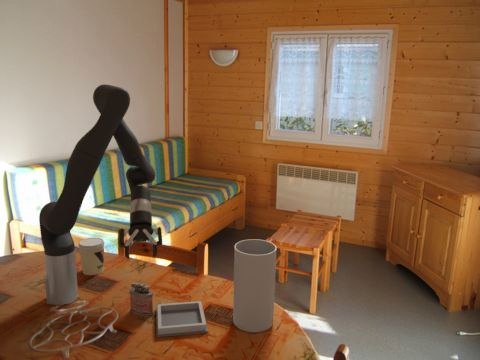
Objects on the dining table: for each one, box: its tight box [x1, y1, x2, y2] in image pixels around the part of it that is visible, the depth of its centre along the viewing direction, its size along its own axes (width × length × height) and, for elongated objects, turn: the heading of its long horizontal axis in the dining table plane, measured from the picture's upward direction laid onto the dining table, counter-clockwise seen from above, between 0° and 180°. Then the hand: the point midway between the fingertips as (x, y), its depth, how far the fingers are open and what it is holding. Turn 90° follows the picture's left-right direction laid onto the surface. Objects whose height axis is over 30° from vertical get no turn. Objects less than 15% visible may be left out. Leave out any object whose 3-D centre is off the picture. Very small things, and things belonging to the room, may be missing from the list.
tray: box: [155, 300, 209, 338], centre depth 135 cm, size 15×15×2 cm
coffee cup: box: [78, 237, 105, 276], centre depth 167 cm, size 9×9×12 cm
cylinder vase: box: [232, 238, 277, 333], centre depth 133 cm, size 12×12×25 cm
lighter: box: [129, 282, 154, 318], centre depth 139 cm, size 8×3×10 cm, turn 71°
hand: (141, 257), depth 146 cm, fingers open, 8 cm apart
